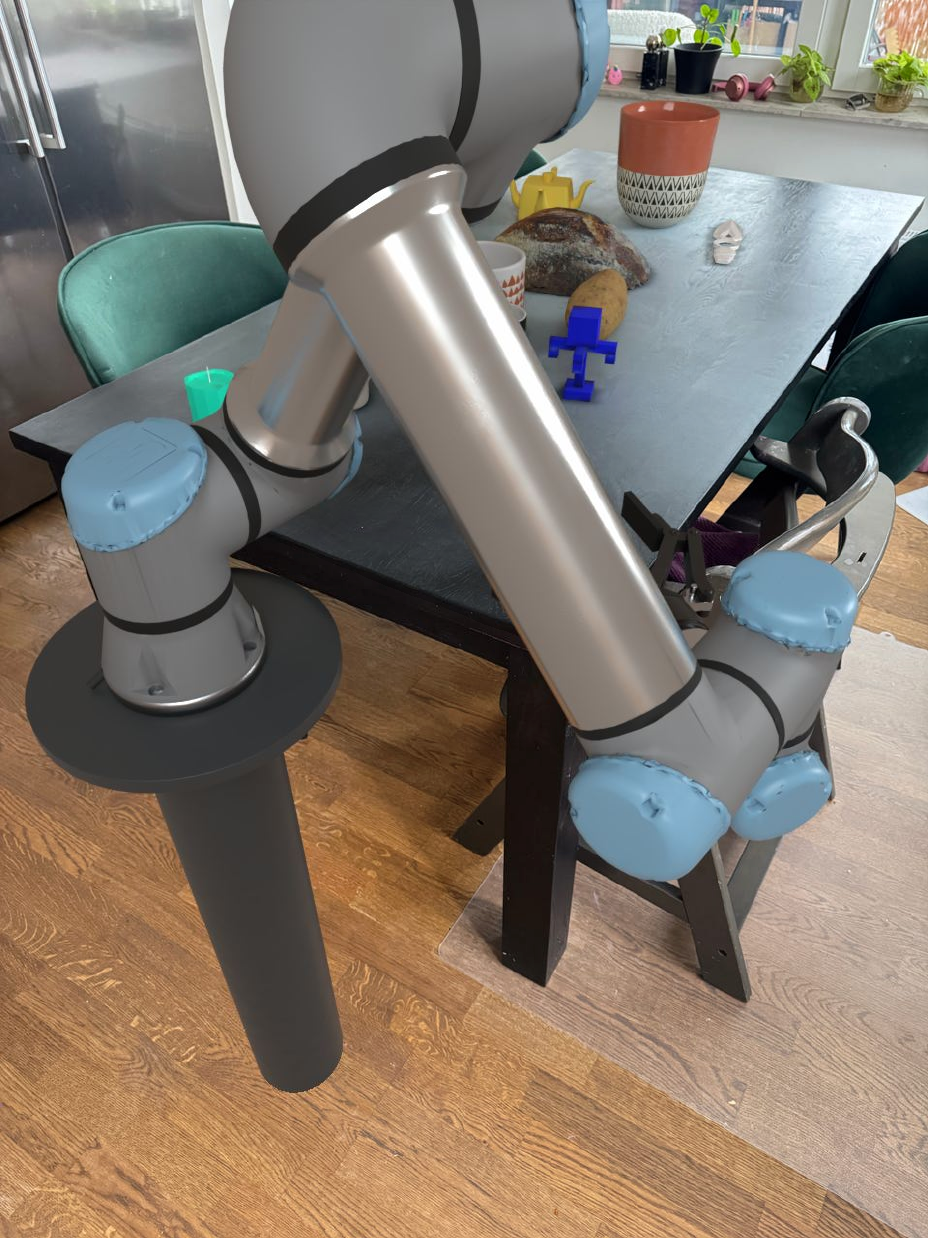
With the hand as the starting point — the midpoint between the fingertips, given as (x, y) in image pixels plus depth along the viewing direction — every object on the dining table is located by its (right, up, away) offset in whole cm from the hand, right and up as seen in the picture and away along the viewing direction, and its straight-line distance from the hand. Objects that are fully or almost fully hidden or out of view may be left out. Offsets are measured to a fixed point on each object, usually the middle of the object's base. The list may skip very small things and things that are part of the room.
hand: (562, 515), depth 83 cm
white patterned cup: (-7, +36, +58) cm, 69 cm away
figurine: (+7, +23, +42) cm, 48 cm away
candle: (-41, +11, +29) cm, 51 cm away
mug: (-5, +24, +44) cm, 51 cm away
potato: (+12, +36, +57) cm, 68 cm away
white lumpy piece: (+44, +67, +93) cm, 123 cm away
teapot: (+8, +76, +103) cm, 128 cm away
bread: (+10, +57, +81) cm, 99 cm away
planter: (+31, +74, +102) cm, 130 cm away
